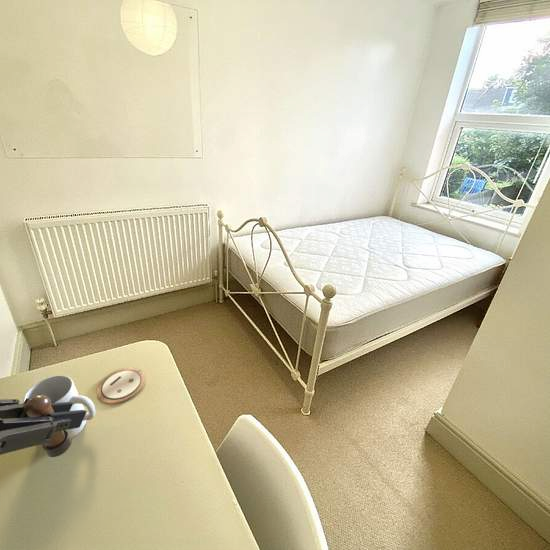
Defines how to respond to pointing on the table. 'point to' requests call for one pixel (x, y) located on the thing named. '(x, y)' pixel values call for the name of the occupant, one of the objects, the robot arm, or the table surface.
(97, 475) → the table surface
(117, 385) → the face mat
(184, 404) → the table surface
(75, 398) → the mug
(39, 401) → the stamp
